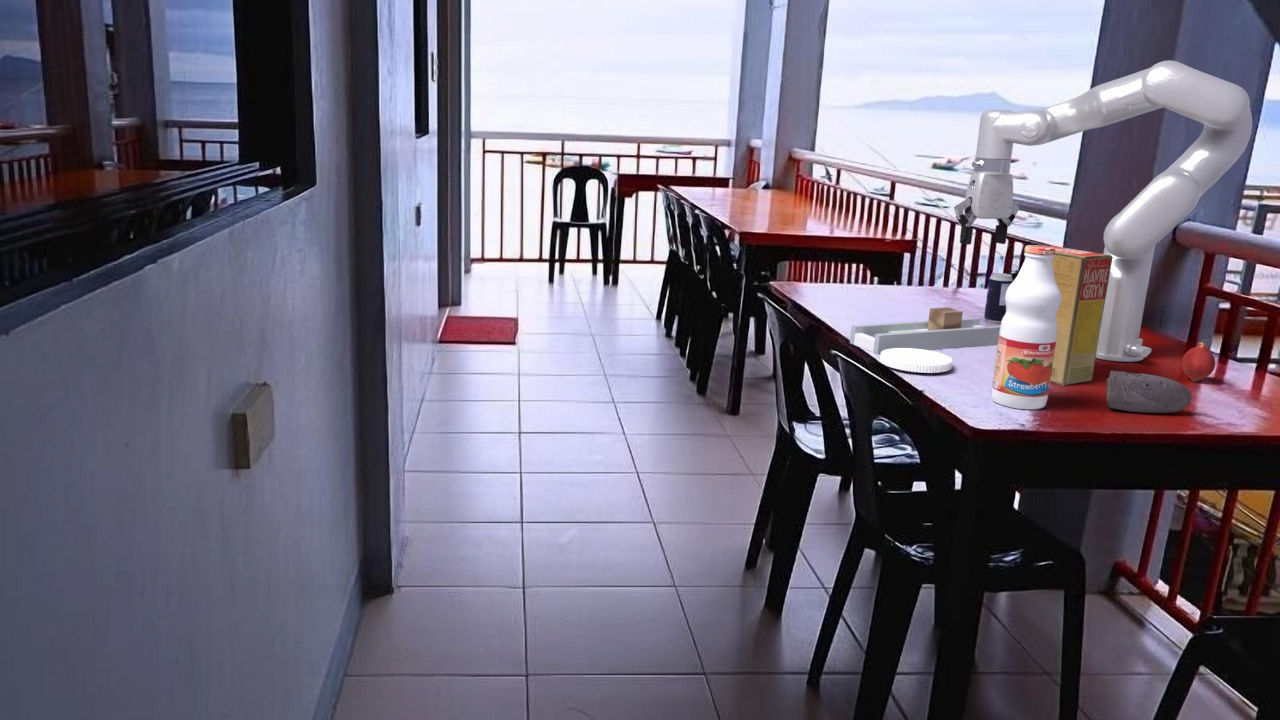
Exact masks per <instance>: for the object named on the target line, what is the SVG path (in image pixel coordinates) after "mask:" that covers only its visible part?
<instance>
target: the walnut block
mask: <svg viewBox="0 0 1280 720" xmlns="http://www.w3.org/2000/svg"><path fill="white" fill-rule="evenodd" d="M962 318H963V311H962V310H958V309H955V308H952V307H948V306H944V307H930V308H929V312H928V320H927V321H928V329H927V330H942V329H957V328H961V323H962Z"/></svg>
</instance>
